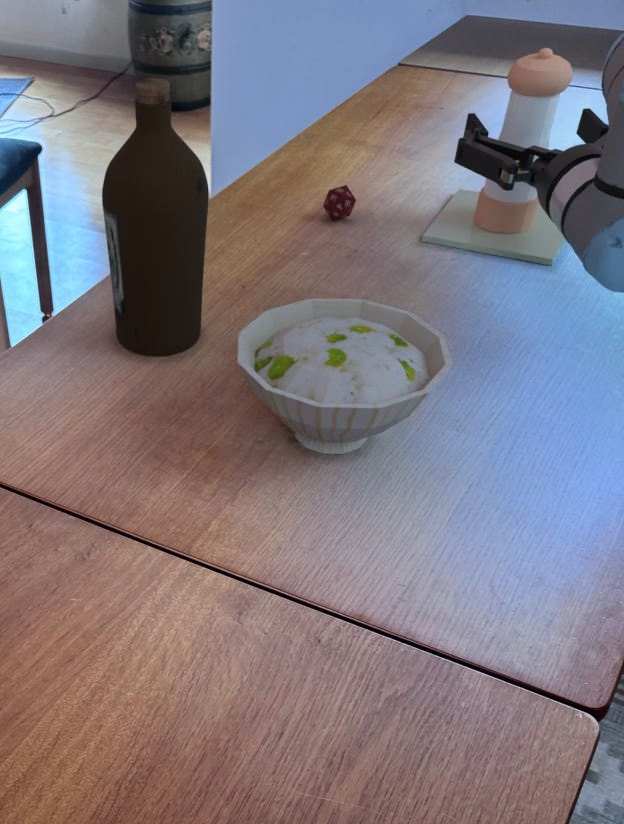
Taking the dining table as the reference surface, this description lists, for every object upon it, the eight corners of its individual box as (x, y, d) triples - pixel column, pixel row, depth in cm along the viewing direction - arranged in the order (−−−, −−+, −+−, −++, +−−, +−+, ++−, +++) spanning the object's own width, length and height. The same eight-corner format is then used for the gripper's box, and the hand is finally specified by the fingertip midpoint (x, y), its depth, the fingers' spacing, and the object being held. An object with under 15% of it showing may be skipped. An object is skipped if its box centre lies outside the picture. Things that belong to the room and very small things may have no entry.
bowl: (189, 429, 89) (190, 335, 82) (324, 358, 97) (335, 266, 90) (339, 524, 79) (354, 426, 71) (475, 435, 87) (502, 339, 79)
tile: (579, 215, 119) (581, 208, 118) (551, 265, 109) (553, 259, 109) (457, 194, 124) (459, 188, 124) (421, 241, 115) (422, 235, 114)
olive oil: (203, 310, 105) (207, 62, 86) (208, 358, 98) (213, 100, 79) (112, 313, 105) (96, 67, 87) (110, 361, 98) (92, 105, 79)
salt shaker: (465, 226, 116) (503, 53, 101) (485, 205, 120) (524, 36, 105) (522, 238, 113) (570, 62, 99) (540, 216, 117) (589, 44, 103)
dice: (315, 219, 120) (318, 188, 117) (337, 209, 122) (341, 178, 119) (337, 228, 118) (341, 196, 115) (359, 217, 120) (364, 186, 117)
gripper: (456, 235, 98) (415, 160, 112) (691, 226, 97) (619, 152, 111) (473, 160, 92) (427, 92, 106) (721, 151, 91) (642, 83, 106)
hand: (525, 123), depth 109 cm, fingers open, 13 cm apart
